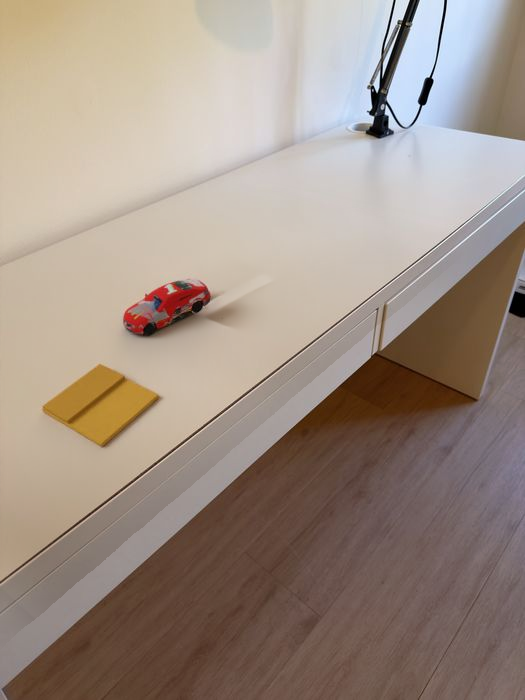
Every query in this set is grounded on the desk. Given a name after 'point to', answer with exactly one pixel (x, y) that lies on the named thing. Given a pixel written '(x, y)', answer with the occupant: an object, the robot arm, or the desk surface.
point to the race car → (166, 306)
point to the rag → (100, 404)
